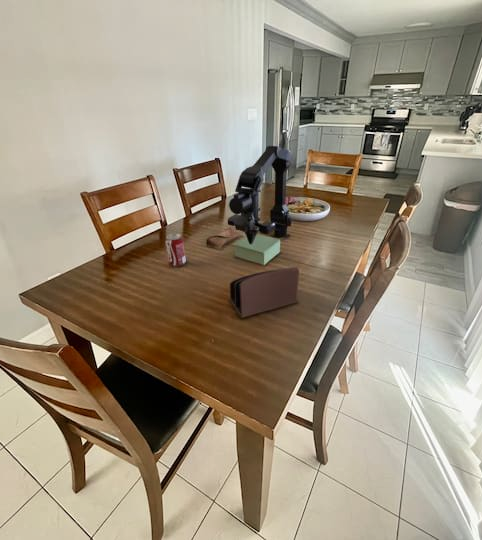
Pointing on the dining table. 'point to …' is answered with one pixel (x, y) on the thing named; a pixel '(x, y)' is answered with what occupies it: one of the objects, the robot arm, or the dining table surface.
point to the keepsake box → (257, 254)
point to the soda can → (175, 250)
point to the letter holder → (264, 291)
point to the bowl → (306, 208)
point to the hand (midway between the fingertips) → (251, 243)
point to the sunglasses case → (222, 238)
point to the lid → (258, 243)
